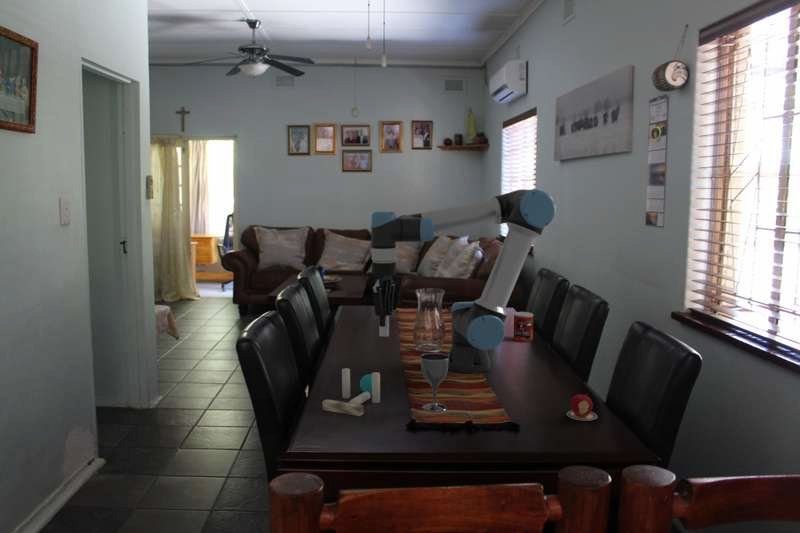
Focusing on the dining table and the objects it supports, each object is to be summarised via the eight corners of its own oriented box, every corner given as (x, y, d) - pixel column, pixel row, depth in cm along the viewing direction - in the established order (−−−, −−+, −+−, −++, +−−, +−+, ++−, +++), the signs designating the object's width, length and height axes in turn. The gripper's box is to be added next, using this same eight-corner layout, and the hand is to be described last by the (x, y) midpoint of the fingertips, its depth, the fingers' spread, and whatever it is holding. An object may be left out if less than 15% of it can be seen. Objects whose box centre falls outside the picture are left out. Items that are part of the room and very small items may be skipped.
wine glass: (440, 414, 180) (440, 361, 178) (415, 409, 184) (415, 357, 182) (453, 406, 187) (453, 355, 185) (429, 401, 191) (429, 351, 189)
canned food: (511, 341, 263) (512, 314, 261) (515, 337, 270) (516, 311, 269) (530, 343, 260) (531, 316, 259) (534, 338, 267) (534, 312, 266)
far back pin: (351, 396, 195) (351, 368, 194) (347, 398, 193) (347, 371, 192) (344, 395, 196) (344, 368, 195) (340, 397, 194) (340, 370, 193)
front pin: (371, 398, 192) (357, 407, 185) (364, 399, 193) (350, 408, 186) (369, 390, 192) (354, 399, 185) (362, 392, 193) (347, 400, 186)
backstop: (363, 413, 180) (363, 405, 180) (359, 416, 179) (359, 407, 178) (326, 407, 186) (326, 399, 185) (322, 409, 184) (322, 401, 183)
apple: (603, 418, 177) (604, 395, 176) (583, 424, 172) (583, 400, 172) (580, 409, 183) (581, 387, 183) (560, 415, 179) (561, 392, 178)
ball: (372, 390, 192) (378, 398, 197) (378, 372, 195) (384, 381, 200) (354, 387, 195) (361, 395, 199) (360, 369, 198) (367, 378, 202)
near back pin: (381, 401, 191) (381, 372, 190) (377, 403, 189) (377, 375, 188) (374, 399, 192) (374, 371, 191) (370, 402, 190) (370, 374, 189)
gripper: (382, 258, 209) (382, 330, 212) (363, 263, 197) (363, 339, 200) (403, 259, 206) (403, 332, 209) (385, 264, 194) (385, 341, 197)
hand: (384, 335), depth 205 cm, fingers closed
